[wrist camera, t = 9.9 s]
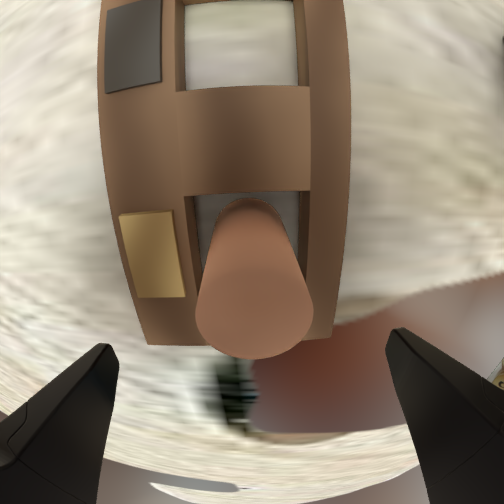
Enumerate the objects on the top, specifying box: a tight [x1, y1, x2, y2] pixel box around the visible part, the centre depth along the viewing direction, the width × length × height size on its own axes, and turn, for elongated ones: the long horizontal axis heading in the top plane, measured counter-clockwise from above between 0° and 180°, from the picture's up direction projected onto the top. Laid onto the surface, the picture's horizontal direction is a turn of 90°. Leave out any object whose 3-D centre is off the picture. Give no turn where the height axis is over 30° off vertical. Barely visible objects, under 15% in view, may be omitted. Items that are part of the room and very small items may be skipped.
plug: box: [195, 198, 314, 359], centre depth 13 cm, size 4×4×8 cm
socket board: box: [97, 0, 351, 346], centre depth 13 cm, size 12×24×3 cm, turn 2°
